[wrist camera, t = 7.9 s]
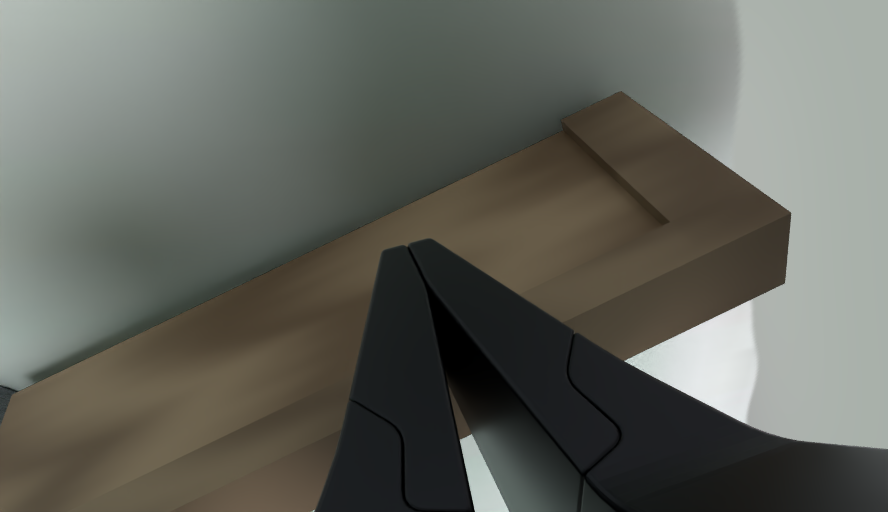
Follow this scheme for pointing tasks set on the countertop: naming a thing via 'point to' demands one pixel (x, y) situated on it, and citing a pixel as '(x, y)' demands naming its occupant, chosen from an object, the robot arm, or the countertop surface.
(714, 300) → the brown long plank slab
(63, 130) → the countertop surface
